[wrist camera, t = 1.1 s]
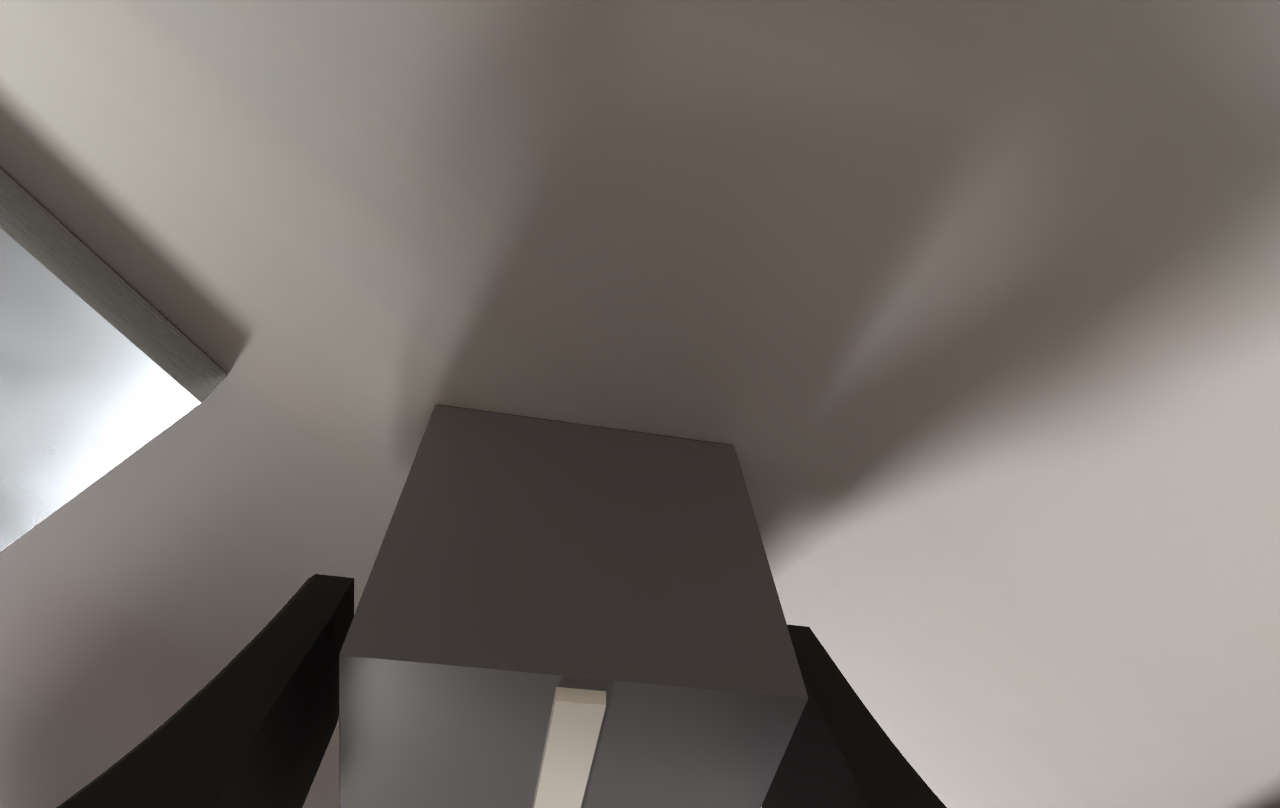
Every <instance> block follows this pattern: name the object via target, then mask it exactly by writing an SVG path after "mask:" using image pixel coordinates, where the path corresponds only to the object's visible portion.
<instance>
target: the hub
mask: <svg viewBox="0 0 1280 808" xmlns="http://www.w3.org/2000/svg"><path fill="white" fill-rule="evenodd" d="M226 376H227V374H226V373H225V372H224V371H223V370H222V369H221V368H220V367H218V366H217V365H216V364H215V363H214V362H213V361H212V360H211V359H210V358H209V357H207V356H206V355H205V354H204V353H203V352H202V351H201V350H200V349H199V348H198V347H196V346H195V345H194V344H193V343H192V342H191V341H190V340H189V339H188V338H187V337H185V336H184V335H183V334H182V333H181V332H180V331H179V330H178V329H177V328H176V327H174V326H173V325H172V324H171V323H170V322H169V321H168V320H167V319H166V318H165V317H163V316H162V315H161V314H160V313H159V312H158V311H157V310H156V309H155V308H154V307H152V306H151V305H150V304H149V303H148V302H147V301H146V300H145V299H144V298H143V297H141V296H140V295H139V294H138V293H137V292H136V291H135V290H134V289H133V288H131V287H130V286H129V285H128V284H127V283H126V282H125V281H124V280H123V279H122V278H120V277H119V276H118V275H117V274H116V273H115V272H114V271H113V270H112V269H111V268H109V267H108V266H107V265H106V264H105V263H104V262H103V261H102V260H101V259H100V258H98V257H97V256H96V255H95V254H94V253H93V252H92V251H91V250H90V249H89V248H87V247H86V246H85V245H84V244H83V243H82V242H81V241H80V240H79V239H78V238H76V237H75V236H74V235H73V234H72V233H71V232H70V231H69V230H68V229H67V228H65V227H64V226H63V225H62V224H61V223H60V222H59V221H58V220H57V219H56V218H54V217H53V216H52V215H51V214H50V213H49V212H48V211H47V210H46V209H45V208H43V207H42V206H41V205H40V204H39V203H38V202H37V201H36V200H35V199H33V198H32V197H31V196H30V195H29V194H28V193H27V192H26V191H25V190H24V189H22V188H21V187H20V186H19V185H18V184H17V183H16V182H15V181H14V180H13V179H11V178H10V177H9V176H8V175H7V174H6V173H5V172H4V171H3V170H2V169H0V552H1V551H3V550H4V549H5V548H7V547H8V546H9V545H11V544H12V543H13V542H15V541H16V540H17V539H19V538H20V537H21V536H23V535H24V534H25V533H27V532H28V531H29V530H31V529H32V528H33V527H35V526H36V525H38V524H39V523H40V522H42V521H43V520H44V519H46V518H47V517H48V516H50V515H51V514H52V513H54V512H55V511H56V510H58V509H59V508H60V507H62V506H63V505H64V504H66V503H67V502H68V501H70V500H71V499H73V498H74V497H75V496H77V495H78V494H79V493H81V492H82V491H83V490H85V489H86V488H87V487H89V486H90V485H91V484H93V483H94V482H95V481H97V480H98V479H99V478H101V477H102V476H103V475H105V474H106V473H107V472H109V471H110V470H112V469H113V468H114V467H116V466H117V465H118V464H120V463H121V462H122V461H124V460H125V459H126V458H128V457H129V456H130V455H132V454H133V453H134V452H136V451H137V450H138V449H140V448H141V447H142V446H144V445H145V444H146V443H148V442H149V441H151V440H152V439H153V438H155V437H156V436H157V435H159V434H160V433H161V432H163V431H164V430H165V429H167V428H168V427H169V426H171V425H172V424H173V423H175V422H176V421H177V420H179V419H180V418H181V417H183V416H184V415H186V414H187V413H188V412H190V411H191V410H192V409H194V408H195V407H196V406H198V405H199V404H200V403H202V401H203V400H204V399H205V398H206V397H207V396H208V395H209V394H210V393H211V392H212V391H213V390H214V389H215V388H216V387H217V386H218V385H219V384H220V382H221V381H222V380H223V379H224V378H225V377H226Z"/></svg>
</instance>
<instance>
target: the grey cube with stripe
mask: <svg viewBox="0 0 1280 808" xmlns="http://www.w3.org/2000/svg"><path fill="white" fill-rule="evenodd" d="M807 700H808V695H807V692H806V688H805V685H804V682H803V678H802V675H801V671H800V668H799V665H798V661H797V658H796V655H795V651H794V648H793V644H792V641H791V638H790V634H789V631H788V627H787V624H786V621H785V617H784V614H783V611H782V607H781V604H780V600H779V597H778V594H777V590H776V587H775V584H774V580H773V577H772V573H771V570H770V567H769V563H768V560H767V557H766V553H765V550H764V546H763V543H762V540H761V536H760V533H759V530H758V526H757V523H756V519H755V516H754V513H753V509H752V506H751V503H750V499H749V496H748V492H747V489H746V486H745V482H744V479H743V476H742V472H741V469H740V465H739V462H738V459H737V455H736V452H735V449H734V446H732V445H724V444H717V443H710V442H703V441H695V440H688V439H681V438H674V437H666V436H659V435H652V434H645V433H637V432H630V431H623V430H616V429H608V428H601V427H594V426H586V425H579V424H572V423H565V422H557V421H550V420H543V419H536V418H528V417H521V416H514V415H507V414H499V413H492V412H485V411H478V410H470V409H463V408H456V407H448V406H441V405H435V408H434V410H433V413H432V415H431V418H430V421H429V423H428V426H427V428H426V431H425V434H424V436H423V439H422V441H421V444H420V447H419V449H418V452H417V454H416V457H415V460H414V462H413V465H412V467H411V470H410V473H409V475H408V478H407V480H406V483H405V486H404V488H403V491H402V493H401V496H400V499H399V501H398V504H397V506H396V509H395V511H394V514H393V517H392V519H391V522H390V524H389V527H388V530H387V532H386V535H385V537H384V540H383V543H382V545H381V548H380V550H379V553H378V556H377V558H376V561H375V563H374V566H373V569H372V571H371V574H370V576H369V579H368V582H367V584H366V587H365V589H364V592H363V595H362V597H361V600H360V602H359V605H358V607H357V610H356V613H355V615H354V618H353V620H352V623H351V626H350V628H349V631H348V633H347V636H346V639H345V641H344V644H343V646H342V649H341V652H340V654H339V760H340V808H761V806H762V803H763V801H764V799H765V796H766V794H767V792H768V790H769V787H770V785H771V783H772V780H773V778H774V776H775V774H776V771H777V769H778V767H779V764H780V762H781V760H782V758H783V755H784V753H785V751H786V748H787V746H788V744H789V741H790V739H791V737H792V735H793V732H794V730H795V728H796V725H797V723H798V721H799V719H800V716H801V714H802V712H803V709H804V707H805V705H806V703H807Z"/></svg>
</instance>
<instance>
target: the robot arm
mask: <svg viewBox="0 0 1280 808" xmlns="http://www.w3.org/2000/svg"><path fill="white" fill-rule="evenodd" d="M353 618H354V578H347V577H338V576H328V575H319V574H315V575H314V576H312V577H310V578H309V579H308V580H307V581H306V582H305V583H304V585H303V586H302V587H301V588H300V589H299V590H298V591H297V593H296V594H295V595H294V596H293V597H292V598H291V599H290V601H289V602H288V603H287V604H286V605H285V606H284V607H283V608H282V609H281V610H280V612H279V613H278V614H277V615H276V616H275V617H274V618H273V619H272V620H271V621H270V622H269V623H268V624H267V625H266V627H265V628H264V629H263V630H262V631H261V632H260V633H259V634H258V635H257V636H256V637H255V638H254V639H253V640H252V641H251V642H250V643H249V644H248V645H247V646H246V647H245V648H244V649H243V650H242V651H241V652H240V653H239V654H238V655H237V656H236V657H235V658H234V659H233V660H232V661H231V662H230V663H229V664H228V665H227V666H226V667H225V668H224V669H223V670H222V671H221V672H220V673H219V674H218V675H217V676H216V677H215V678H214V679H213V680H212V681H210V682H209V683H208V684H207V685H206V686H205V687H204V688H203V689H202V690H201V691H199V692H198V693H197V694H196V695H195V696H194V697H193V698H192V699H191V700H189V701H188V702H187V703H186V704H185V705H184V706H183V707H182V708H181V709H180V710H178V711H177V712H176V713H175V714H174V715H173V716H172V717H171V718H170V719H168V720H167V721H166V722H165V723H164V724H163V725H162V726H160V727H159V728H158V729H157V730H156V731H154V732H153V733H152V734H151V735H150V736H149V737H147V738H146V739H145V740H144V741H143V742H141V743H140V744H139V745H138V746H137V747H135V748H134V749H133V750H132V751H130V752H129V753H128V754H127V755H125V756H124V757H123V758H122V759H120V760H119V761H118V762H117V763H115V764H114V765H113V766H111V767H110V768H109V769H108V770H106V771H105V772H104V773H103V774H101V775H100V776H99V777H97V778H96V779H95V780H93V781H92V782H91V783H89V784H88V785H87V786H85V787H84V788H83V789H81V790H80V791H78V792H77V793H76V794H74V795H73V796H72V797H70V798H69V799H68V800H66V801H65V802H64V803H62V804H61V805H59V806H58V807H57V808H302V806H303V804H304V802H305V799H306V797H307V794H308V792H309V790H310V787H311V785H312V783H313V780H314V778H315V775H316V773H317V771H318V768H319V766H320V763H321V761H322V758H323V756H324V754H325V751H326V749H327V746H328V744H329V741H330V739H331V737H332V734H333V732H334V729H335V727H336V723H337V720H338V717H339V654H340V652H341V649H342V646H343V644H344V641H345V639H346V636H347V633H348V631H349V628H350V626H351V623H352V620H353ZM787 627H788V631H789V634H790V638H791V641H792V644H793V648H794V651H795V655H796V658H797V661H798V665H799V668H800V671H801V675H802V678H803V682H804V685H805V688H806V692H807V695H808V700H807V703H806V705H805V707H804V709H803V712H802V714H801V716H800V719H799V721H798V723H797V725H796V728H795V730H794V732H793V735H792V737H791V739H790V741H789V744H788V746H787V748H786V751H785V753H784V755H783V758H782V760H781V762H780V764H779V767H778V769H777V771H776V774H775V776H774V778H773V780H772V783H771V785H770V787H769V790H768V792H767V794H766V796H765V799H764V801H763V803H762V808H947V807H946V806H945V805H944V804H943V803H942V802H941V801H940V799H939V798H938V797H937V796H936V795H935V794H934V793H933V792H932V790H931V789H930V788H929V787H928V786H927V784H926V783H925V782H924V781H923V780H922V778H921V777H920V776H919V775H918V774H917V772H916V771H915V770H914V769H913V768H912V766H911V765H910V764H909V763H908V762H907V760H906V759H905V758H904V757H903V755H902V754H901V753H900V752H899V750H898V749H897V748H896V747H895V745H894V744H893V743H892V741H891V740H890V739H889V738H888V736H887V735H886V734H885V732H884V731H883V730H882V728H881V727H880V726H879V724H878V723H877V722H876V720H875V719H874V718H873V716H872V715H871V714H870V712H869V711H868V710H867V708H866V707H865V705H864V704H863V703H862V701H861V700H860V699H859V697H858V696H857V694H856V693H855V692H854V690H853V689H852V687H851V686H850V685H849V683H848V682H847V680H846V679H845V677H844V676H843V675H842V673H841V672H840V670H839V669H838V667H837V666H836V665H835V663H834V662H833V660H832V659H831V657H830V656H829V655H828V653H827V652H826V650H825V649H824V648H823V646H822V645H821V643H820V642H819V640H818V639H817V638H816V636H815V635H814V633H813V632H812V631H811V629H810V628H809V627H804V626H795V625H787Z"/></svg>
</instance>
